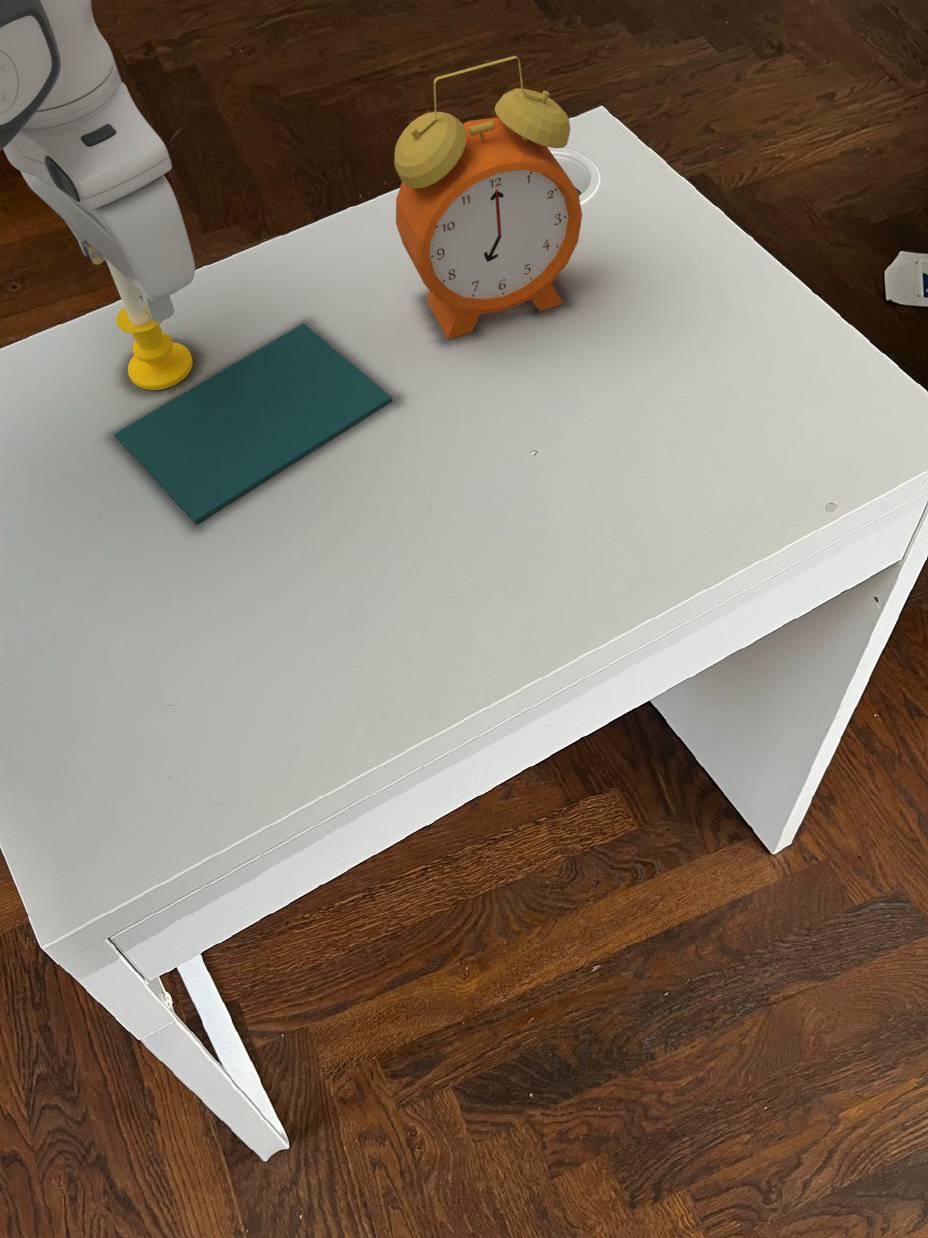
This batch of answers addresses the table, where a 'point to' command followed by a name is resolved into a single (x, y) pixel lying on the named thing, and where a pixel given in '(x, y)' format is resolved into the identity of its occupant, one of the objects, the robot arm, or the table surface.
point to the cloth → (251, 421)
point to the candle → (149, 342)
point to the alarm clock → (487, 206)
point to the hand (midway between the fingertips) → (129, 285)
